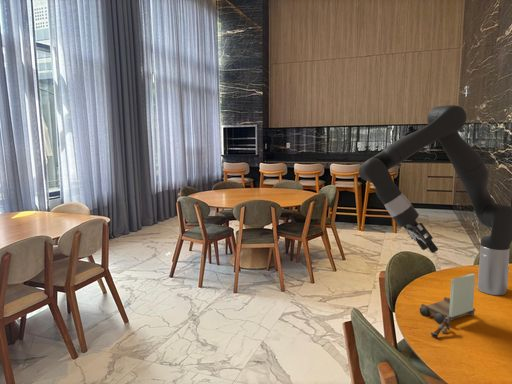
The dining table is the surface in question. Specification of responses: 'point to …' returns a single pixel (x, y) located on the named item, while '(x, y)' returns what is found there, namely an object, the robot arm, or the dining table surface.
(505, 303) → the dining table surface
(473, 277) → the panel
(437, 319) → the flatbed
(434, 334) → the wooden post with brackets
